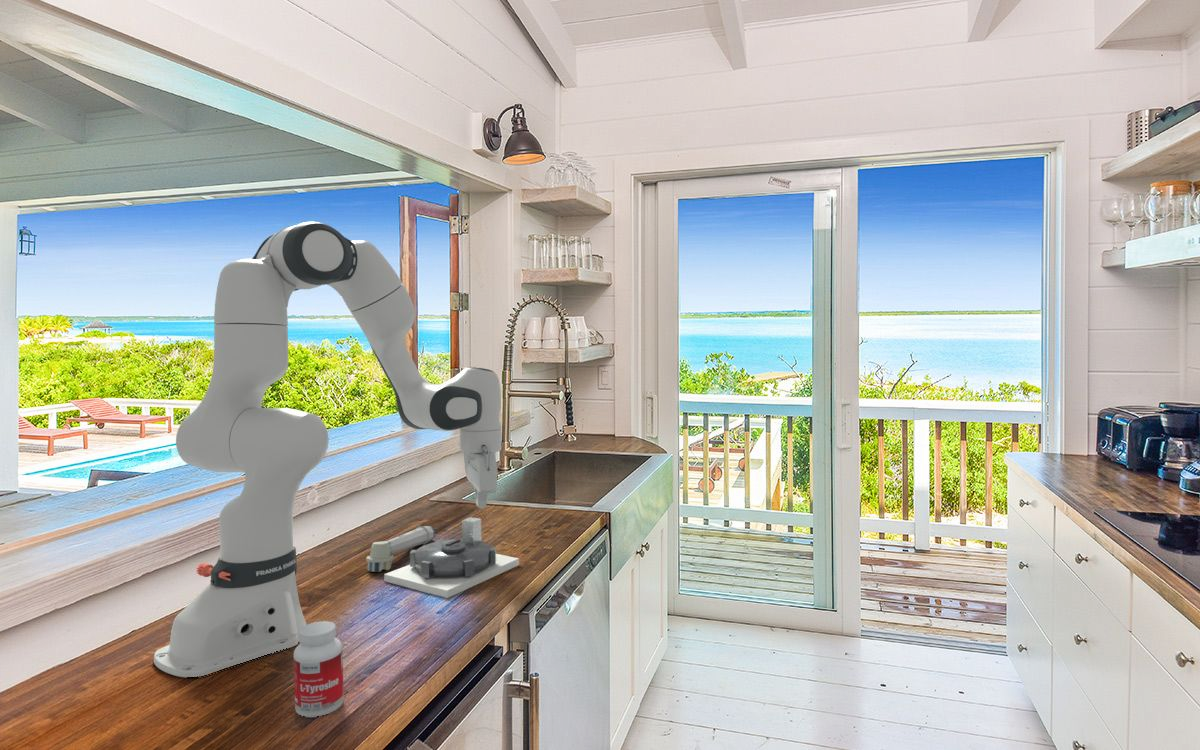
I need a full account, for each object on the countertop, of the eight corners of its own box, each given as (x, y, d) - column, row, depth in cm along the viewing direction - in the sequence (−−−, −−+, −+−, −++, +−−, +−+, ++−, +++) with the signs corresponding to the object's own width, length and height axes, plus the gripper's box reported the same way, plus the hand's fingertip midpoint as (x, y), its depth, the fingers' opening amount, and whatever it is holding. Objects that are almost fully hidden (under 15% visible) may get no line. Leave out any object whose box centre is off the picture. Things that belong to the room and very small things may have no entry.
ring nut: (457, 583, 132) (456, 543, 132) (394, 571, 140) (393, 533, 139) (506, 557, 148) (506, 522, 147) (447, 548, 155) (446, 514, 155)
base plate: (447, 598, 130) (446, 589, 130) (384, 581, 140) (384, 573, 140) (519, 565, 149) (518, 557, 149) (459, 552, 158) (459, 545, 158)
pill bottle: (295, 723, 88) (291, 641, 87) (295, 701, 94) (292, 623, 93) (345, 712, 90) (342, 632, 90) (342, 691, 96) (340, 615, 95)
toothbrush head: (437, 525, 168) (383, 541, 144) (437, 552, 168) (382, 572, 144) (419, 524, 170) (361, 539, 145) (417, 551, 169) (360, 571, 145)
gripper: (504, 447, 135) (505, 516, 136) (487, 437, 155) (487, 496, 155) (473, 449, 133) (473, 518, 133) (459, 438, 152) (460, 498, 153)
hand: (481, 506), depth 144 cm, fingers closed
